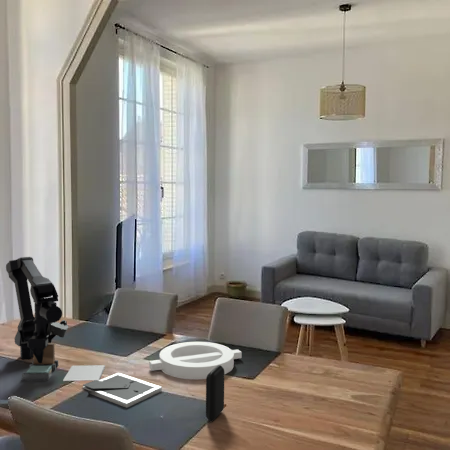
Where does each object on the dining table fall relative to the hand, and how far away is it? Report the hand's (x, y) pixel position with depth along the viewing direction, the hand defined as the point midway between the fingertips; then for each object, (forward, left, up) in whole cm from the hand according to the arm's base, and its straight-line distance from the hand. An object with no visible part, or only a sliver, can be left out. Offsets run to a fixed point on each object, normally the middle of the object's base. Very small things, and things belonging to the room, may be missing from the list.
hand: (44, 358), depth 187 cm
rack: (+4, 0, -4) cm, 6 cm away
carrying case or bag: (+38, +61, -5) cm, 72 cm away
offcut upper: (+6, 0, -2) cm, 7 cm away
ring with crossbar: (-4, +56, -5) cm, 56 cm away
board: (+5, +16, -4) cm, 17 cm away
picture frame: (+19, +31, -5) cm, 36 cm away
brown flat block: (0, 0, -4) cm, 4 cm away
